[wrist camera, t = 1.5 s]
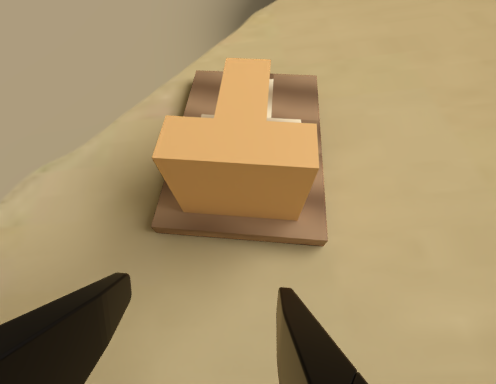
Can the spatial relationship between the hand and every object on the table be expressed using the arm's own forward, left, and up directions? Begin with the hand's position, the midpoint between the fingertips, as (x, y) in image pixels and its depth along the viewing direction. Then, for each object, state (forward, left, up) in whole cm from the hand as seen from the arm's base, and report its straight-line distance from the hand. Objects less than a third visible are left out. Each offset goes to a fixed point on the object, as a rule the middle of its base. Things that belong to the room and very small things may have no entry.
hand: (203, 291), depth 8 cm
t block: (+12, -3, -11) cm, 17 cm away
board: (+16, -4, -13) cm, 21 cm away
